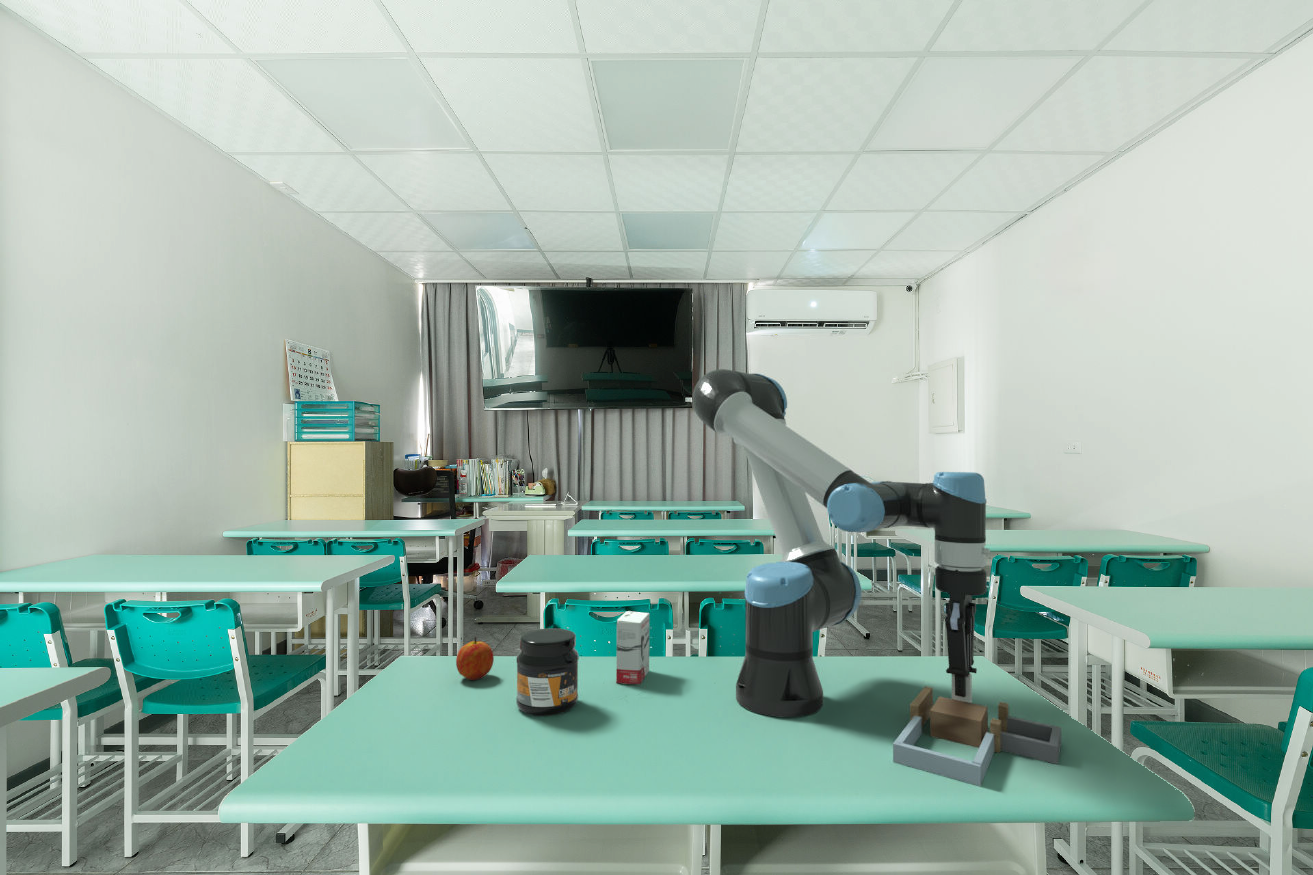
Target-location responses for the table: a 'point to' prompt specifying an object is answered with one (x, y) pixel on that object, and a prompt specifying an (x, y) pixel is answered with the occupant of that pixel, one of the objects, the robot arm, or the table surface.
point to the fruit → (474, 660)
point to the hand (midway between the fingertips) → (962, 714)
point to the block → (959, 721)
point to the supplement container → (547, 672)
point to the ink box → (632, 647)
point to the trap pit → (1032, 739)
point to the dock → (942, 756)
